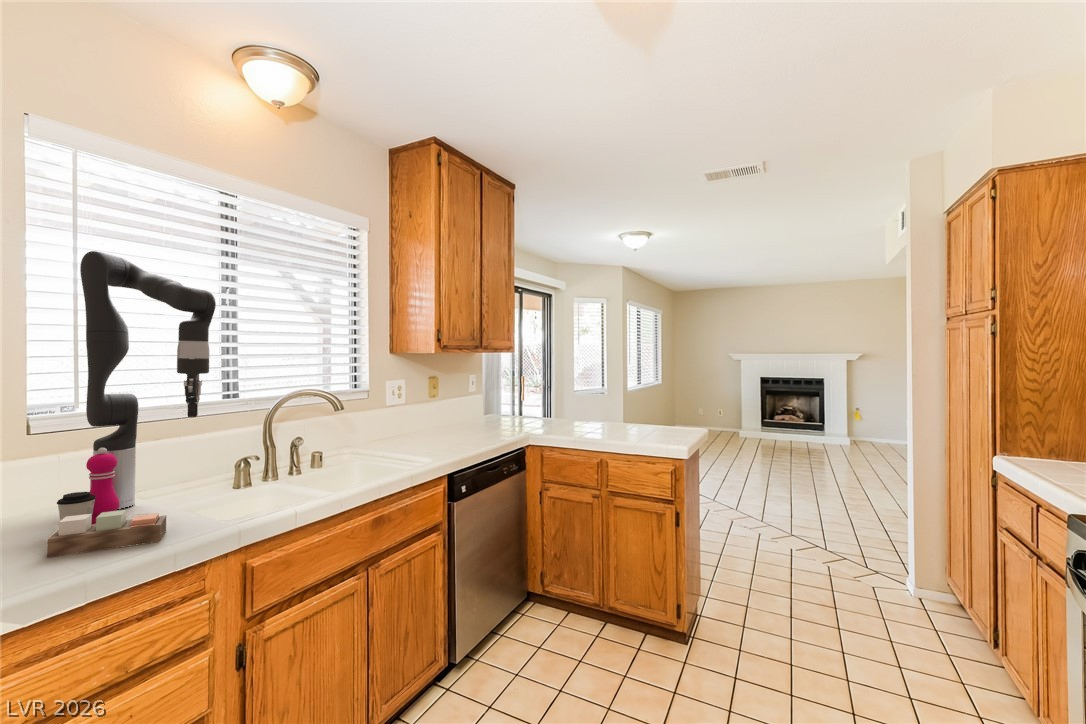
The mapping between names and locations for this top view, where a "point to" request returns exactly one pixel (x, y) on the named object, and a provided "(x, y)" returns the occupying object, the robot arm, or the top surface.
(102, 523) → the sage key
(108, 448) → the robot arm
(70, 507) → the coffee cup
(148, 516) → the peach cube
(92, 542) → the wooden tray
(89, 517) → the ivory key
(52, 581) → the top surface
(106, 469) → the pepper mill
